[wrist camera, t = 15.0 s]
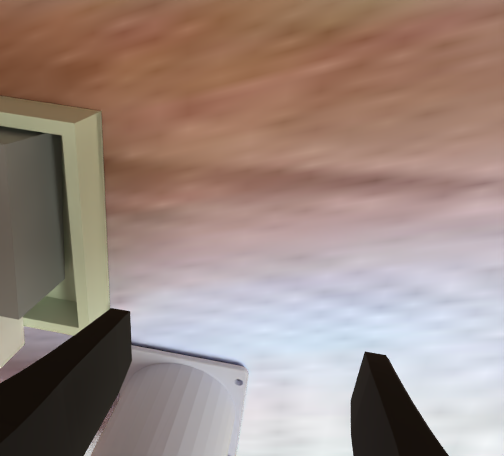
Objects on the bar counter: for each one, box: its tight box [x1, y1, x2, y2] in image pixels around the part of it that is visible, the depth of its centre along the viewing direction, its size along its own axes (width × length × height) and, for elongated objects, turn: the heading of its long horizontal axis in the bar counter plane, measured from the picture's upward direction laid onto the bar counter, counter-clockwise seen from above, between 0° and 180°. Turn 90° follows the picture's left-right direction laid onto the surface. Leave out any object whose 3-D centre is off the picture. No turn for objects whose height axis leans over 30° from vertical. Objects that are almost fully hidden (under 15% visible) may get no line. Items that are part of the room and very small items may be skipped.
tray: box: [0, 96, 110, 336], centre depth 22 cm, size 12×9×2 cm
